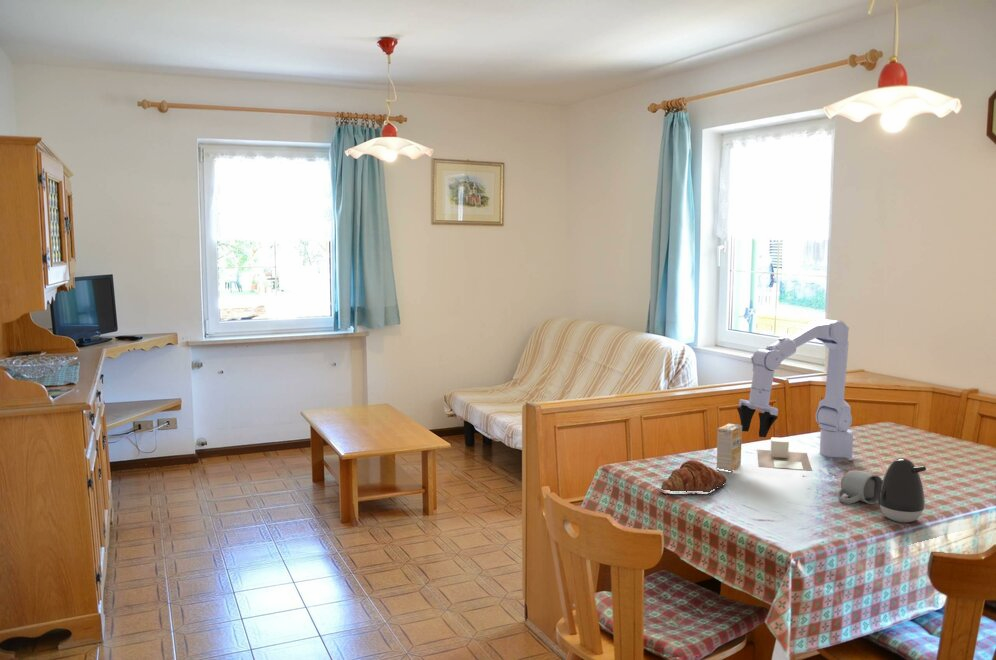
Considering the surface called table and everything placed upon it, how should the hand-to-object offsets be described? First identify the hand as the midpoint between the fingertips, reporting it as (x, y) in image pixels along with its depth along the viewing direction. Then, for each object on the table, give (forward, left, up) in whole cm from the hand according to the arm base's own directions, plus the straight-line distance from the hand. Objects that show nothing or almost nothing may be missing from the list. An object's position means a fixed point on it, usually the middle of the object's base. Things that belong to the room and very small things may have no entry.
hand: (753, 434), depth 233 cm
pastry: (+16, +25, -11) cm, 31 cm away
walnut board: (-9, -9, -11) cm, 17 cm away
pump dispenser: (-34, +35, -11) cm, 50 cm away
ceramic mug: (-26, +23, -11) cm, 36 cm away
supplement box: (+7, +3, -11) cm, 13 cm away
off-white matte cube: (-8, -14, -10) cm, 19 cm away
